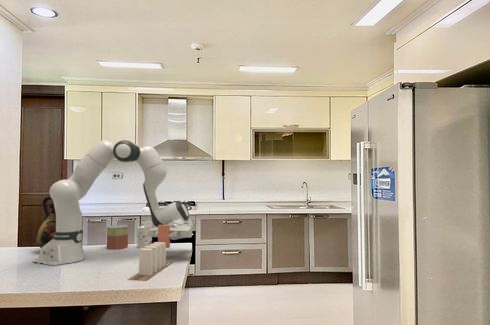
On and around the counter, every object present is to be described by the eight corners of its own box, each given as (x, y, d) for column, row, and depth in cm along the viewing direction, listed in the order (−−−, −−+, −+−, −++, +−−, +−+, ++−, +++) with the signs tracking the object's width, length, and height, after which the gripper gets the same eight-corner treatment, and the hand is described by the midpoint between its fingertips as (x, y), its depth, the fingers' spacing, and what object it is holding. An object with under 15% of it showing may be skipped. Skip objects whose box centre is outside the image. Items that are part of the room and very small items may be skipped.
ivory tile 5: (150, 275, 122) (150, 249, 122) (138, 274, 123) (139, 249, 123) (152, 274, 123) (152, 248, 124) (141, 273, 124) (141, 248, 125)
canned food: (120, 244, 184) (120, 224, 184) (132, 247, 177) (132, 226, 178) (102, 248, 174) (102, 226, 175) (113, 251, 168) (114, 228, 168)
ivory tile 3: (159, 269, 130) (159, 245, 130) (148, 268, 131) (148, 244, 131) (161, 268, 131) (161, 244, 132) (150, 267, 132) (150, 244, 133)
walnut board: (126, 282, 117) (126, 279, 117) (158, 263, 142) (158, 261, 142) (146, 284, 115) (146, 280, 115) (174, 264, 141) (174, 261, 141)
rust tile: (168, 248, 138) (168, 225, 138) (158, 247, 139) (157, 225, 139) (170, 247, 139) (169, 224, 140) (159, 247, 140) (159, 224, 141)
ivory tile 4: (155, 272, 126) (155, 247, 126) (143, 271, 127) (144, 247, 127) (157, 271, 127) (157, 246, 128) (145, 270, 128) (146, 246, 129)
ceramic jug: (75, 248, 175) (76, 195, 177) (60, 254, 160) (61, 196, 161) (44, 248, 175) (45, 195, 176) (26, 255, 159) (27, 197, 160)
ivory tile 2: (163, 266, 134) (164, 243, 134) (153, 266, 134) (153, 243, 135) (165, 265, 135) (165, 242, 136) (154, 265, 136) (155, 242, 137)
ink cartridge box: (144, 244, 183) (144, 219, 183) (152, 245, 182) (152, 219, 182) (136, 248, 174) (136, 221, 175) (144, 248, 173) (144, 222, 174)
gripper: (155, 223, 154) (141, 228, 140) (194, 224, 150) (184, 228, 137) (155, 236, 154) (141, 242, 140) (195, 237, 150) (184, 243, 137)
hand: (163, 235), depth 139 cm, fingers closed on rust tile, 5 cm apart
